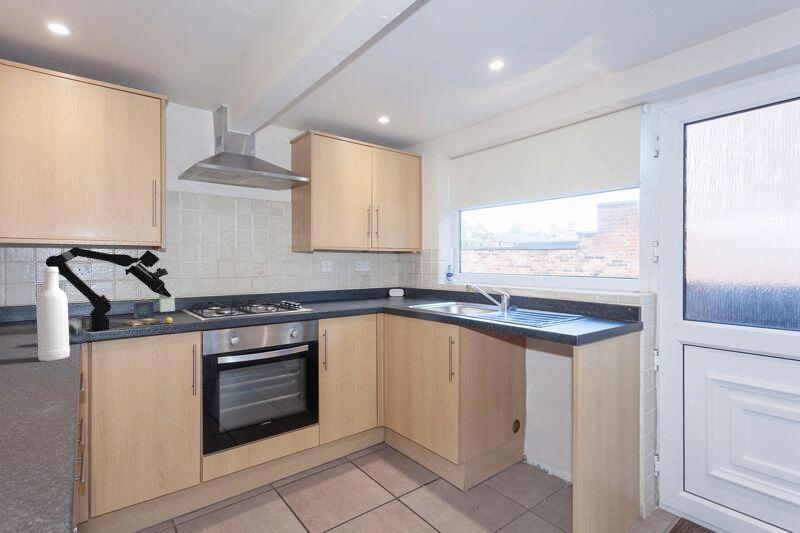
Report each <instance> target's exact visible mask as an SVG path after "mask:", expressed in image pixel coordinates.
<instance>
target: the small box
mask: <svg viewBox="0 0 800 533" xmlns="http://www.w3.org/2000/svg"><path fill="white" fill-rule="evenodd" d="M68 325H69V346H70V345H82V344H85V343H86V342H87V341H88V339H87V337H88V336H87V335H88V334H87V314H79V315H68Z"/></svg>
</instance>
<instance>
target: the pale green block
mask: <svg viewBox="0 0 800 533" xmlns="http://www.w3.org/2000/svg"><path fill="white" fill-rule="evenodd" d="M167 291H168V292H169V293H170V294H171V297H167V296H164V295H161V294H158V299H159V300H158V301H159V304H158V305H159V306H158V308H159V311H160V312H161V313H163V312H164V313H165V312H166V313H167V312H176V305H175V304H176V302H175V291H174V290H167Z"/></svg>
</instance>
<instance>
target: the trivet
mask: <svg viewBox="0 0 800 533" xmlns="http://www.w3.org/2000/svg"><path fill="white" fill-rule="evenodd" d="M158 322H160V323H161V320H159V319H154V318H143V319H134V320H127V321H122V325H124V324H127V325H126V326H129V325H133V326H132V327H135V326H134V325H140V326H143V325H142V324H147V325H151V324H150V323H155V324H159V323H158Z"/></svg>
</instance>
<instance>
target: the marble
mask: <svg viewBox="0 0 800 533" xmlns="http://www.w3.org/2000/svg"><path fill="white" fill-rule="evenodd" d="M173 321H174V320H173V318H172V317H170V316H169V317H166V318H165V319H164V322H165V323H166V324H167V323H170V324H172V322H173Z"/></svg>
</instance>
